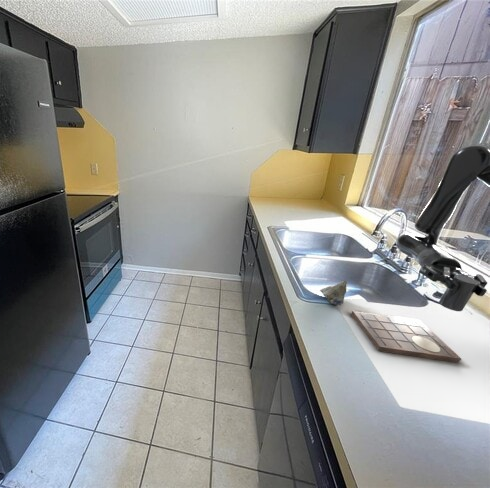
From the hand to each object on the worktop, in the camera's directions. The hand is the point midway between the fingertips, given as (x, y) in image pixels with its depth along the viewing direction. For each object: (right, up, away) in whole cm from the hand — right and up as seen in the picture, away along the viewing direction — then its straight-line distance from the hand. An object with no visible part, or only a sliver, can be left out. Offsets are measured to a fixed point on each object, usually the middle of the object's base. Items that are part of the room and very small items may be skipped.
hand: (468, 290), depth 68 cm
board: (-9, -16, +10) cm, 21 cm away
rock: (-21, -8, +26) cm, 34 cm away
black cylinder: (+1, -5, +5) cm, 7 cm away
